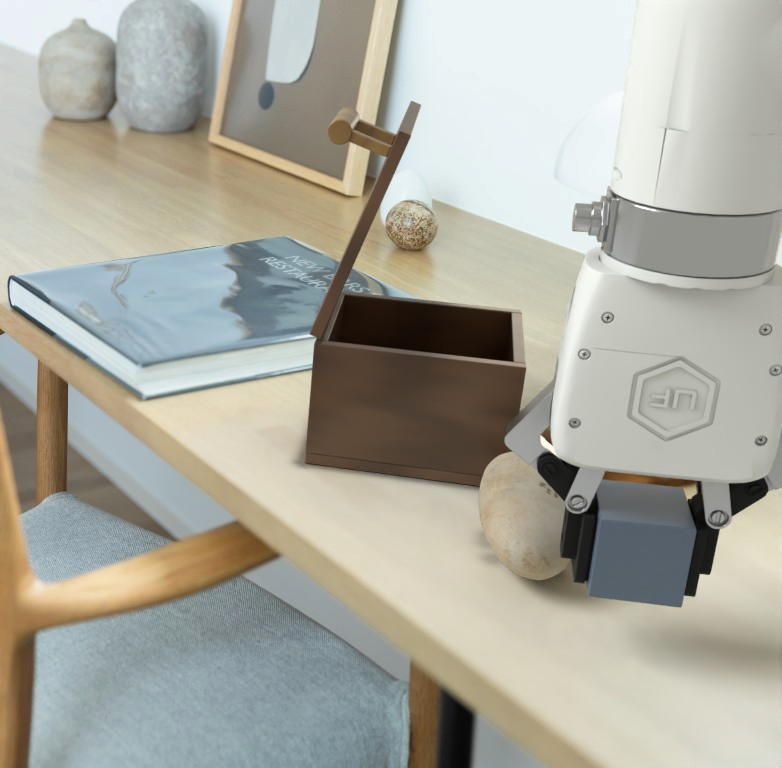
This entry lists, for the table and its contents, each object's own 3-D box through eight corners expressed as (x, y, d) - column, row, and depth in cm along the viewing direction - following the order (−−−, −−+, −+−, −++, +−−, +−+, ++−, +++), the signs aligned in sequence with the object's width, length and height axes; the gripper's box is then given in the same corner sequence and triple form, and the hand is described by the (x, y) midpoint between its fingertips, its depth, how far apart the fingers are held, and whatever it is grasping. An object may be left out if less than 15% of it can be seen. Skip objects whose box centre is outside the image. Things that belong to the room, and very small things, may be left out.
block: (669, 561, 62) (683, 487, 61) (682, 608, 58) (697, 530, 57) (581, 551, 63) (593, 477, 61) (588, 597, 59) (600, 519, 57)
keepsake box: (505, 419, 88) (522, 309, 85) (507, 490, 78) (526, 367, 74) (326, 397, 91) (335, 290, 87) (304, 463, 80) (314, 343, 77)
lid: (421, 104, 81) (355, 76, 81) (411, 135, 70) (335, 103, 71) (340, 286, 87) (279, 259, 87) (320, 339, 77) (250, 309, 77)
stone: (559, 462, 76) (627, 502, 64) (520, 550, 76) (581, 606, 64) (477, 429, 75) (531, 463, 64) (439, 518, 76) (485, 569, 64)
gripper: (500, 245, 52) (462, 594, 59) (919, 272, 48) (824, 639, 56) (499, 203, 59) (466, 521, 66) (867, 225, 55) (789, 558, 62)
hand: (631, 572), depth 61 cm, fingers closed on block, 4 cm apart
